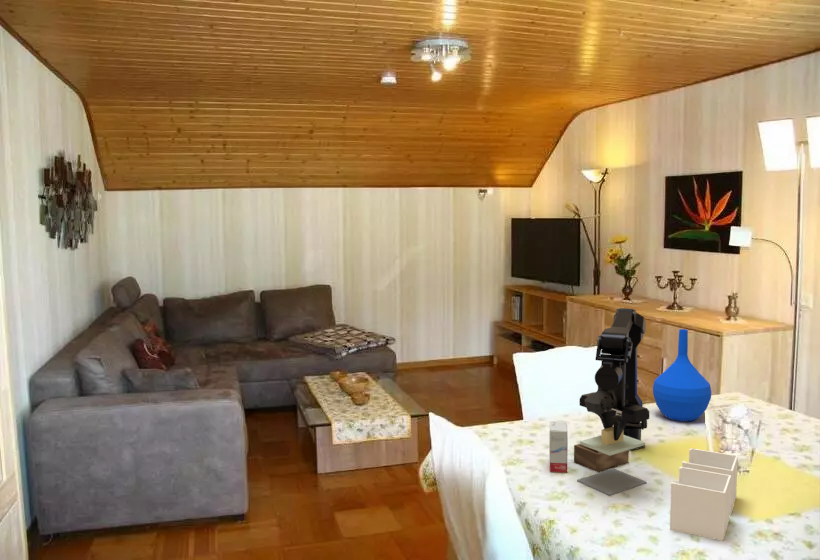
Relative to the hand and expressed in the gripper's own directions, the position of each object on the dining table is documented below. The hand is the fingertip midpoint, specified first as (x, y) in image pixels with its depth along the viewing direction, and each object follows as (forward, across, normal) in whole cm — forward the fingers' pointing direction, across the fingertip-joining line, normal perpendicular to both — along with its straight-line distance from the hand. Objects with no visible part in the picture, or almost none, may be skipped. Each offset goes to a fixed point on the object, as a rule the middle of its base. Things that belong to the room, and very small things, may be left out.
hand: (612, 439), depth 181 cm
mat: (+12, 0, 0) cm, 12 cm away
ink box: (+12, -16, -4) cm, 20 cm away
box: (+12, -11, +8) cm, 18 cm away
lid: (+2, 0, 0) cm, 2 cm away
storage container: (+12, +24, +4) cm, 28 cm away
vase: (+12, -24, +61) cm, 67 cm away
